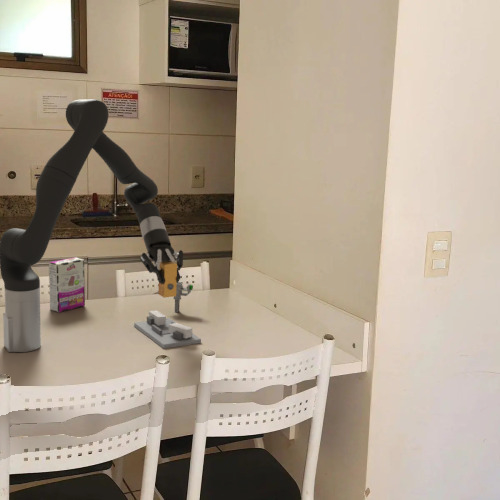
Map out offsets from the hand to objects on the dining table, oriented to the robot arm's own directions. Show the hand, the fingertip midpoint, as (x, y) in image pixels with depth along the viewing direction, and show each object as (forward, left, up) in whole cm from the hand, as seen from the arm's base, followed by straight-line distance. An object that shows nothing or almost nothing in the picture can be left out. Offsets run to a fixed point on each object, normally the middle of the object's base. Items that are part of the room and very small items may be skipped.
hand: (170, 281), depth 200 cm
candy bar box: (-19, +40, -17) cm, 47 cm away
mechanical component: (+13, +22, -17) cm, 31 cm away
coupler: (0, +2, -5) cm, 5 cm away
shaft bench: (0, +2, -17) cm, 17 cm away
